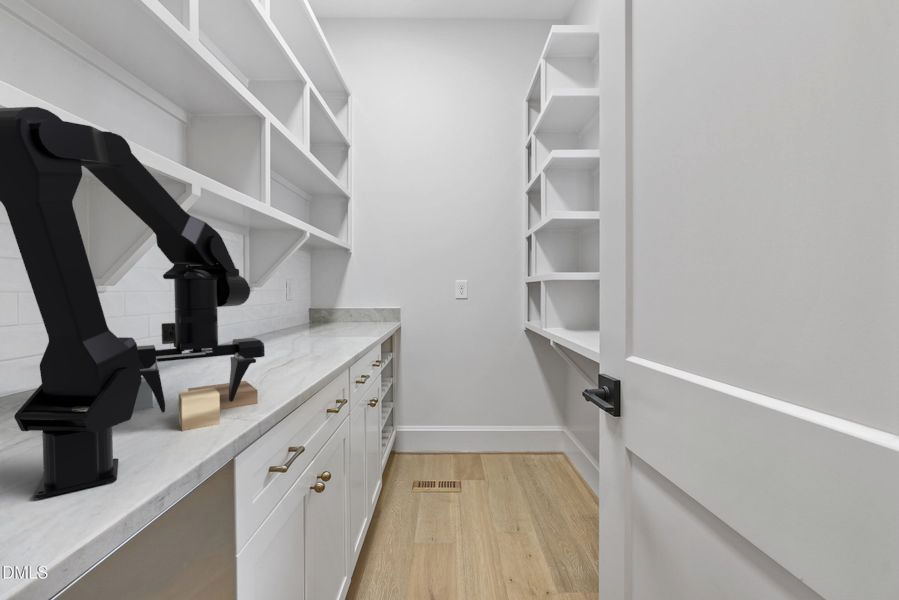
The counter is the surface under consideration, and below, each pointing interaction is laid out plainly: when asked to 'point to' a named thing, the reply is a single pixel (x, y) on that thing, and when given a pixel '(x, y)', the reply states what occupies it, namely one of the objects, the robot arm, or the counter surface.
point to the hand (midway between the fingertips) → (198, 406)
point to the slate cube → (144, 396)
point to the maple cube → (199, 408)
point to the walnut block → (242, 398)
